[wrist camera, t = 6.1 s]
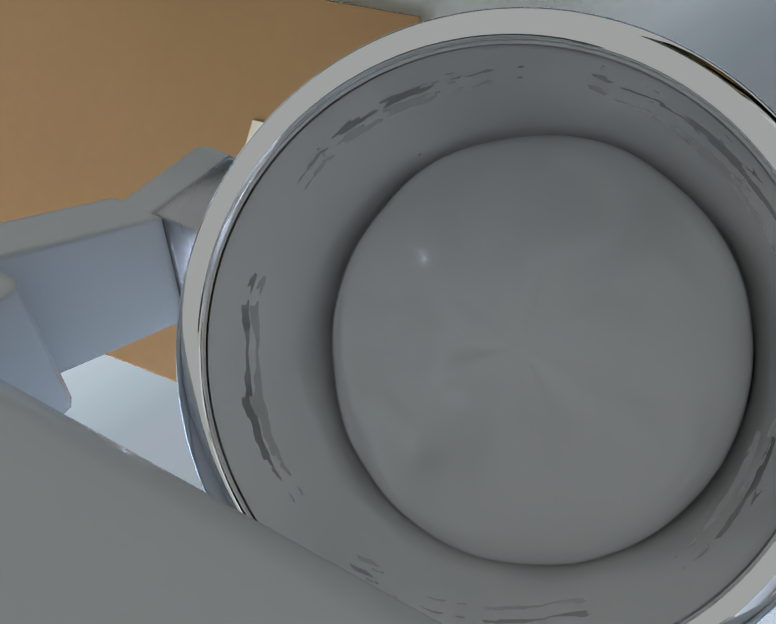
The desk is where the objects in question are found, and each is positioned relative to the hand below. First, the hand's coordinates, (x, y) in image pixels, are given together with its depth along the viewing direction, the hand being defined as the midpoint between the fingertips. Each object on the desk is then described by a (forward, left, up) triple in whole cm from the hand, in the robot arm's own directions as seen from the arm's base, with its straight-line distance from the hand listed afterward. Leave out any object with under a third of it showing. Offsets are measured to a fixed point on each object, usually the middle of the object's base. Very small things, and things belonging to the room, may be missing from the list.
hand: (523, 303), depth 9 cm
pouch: (+12, -12, -12) cm, 21 cm away
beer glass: (0, 0, -13) cm, 13 cm away
